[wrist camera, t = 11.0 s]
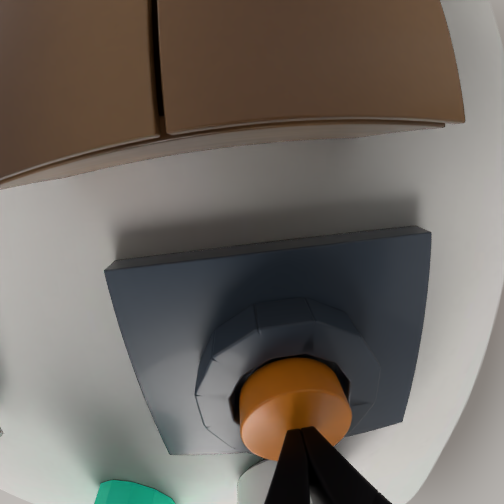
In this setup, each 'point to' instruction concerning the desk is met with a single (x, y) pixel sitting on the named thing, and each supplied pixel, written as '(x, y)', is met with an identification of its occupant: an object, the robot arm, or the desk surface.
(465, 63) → the desk surface
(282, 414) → the button
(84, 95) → the carton
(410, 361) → the button box
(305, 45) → the flap
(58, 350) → the desk surface
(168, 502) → the candle
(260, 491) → the can
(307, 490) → the robot arm
